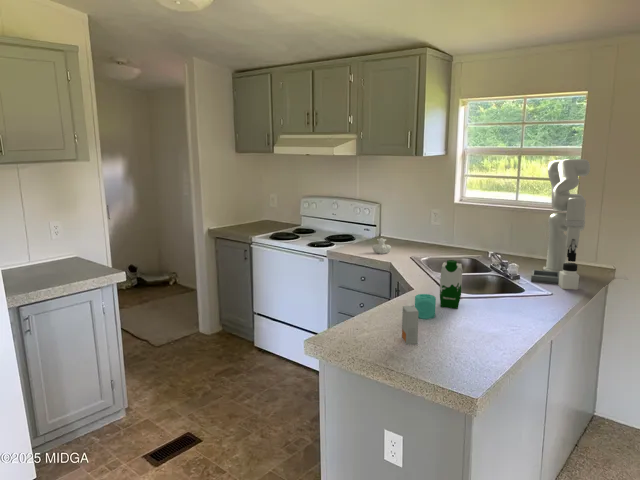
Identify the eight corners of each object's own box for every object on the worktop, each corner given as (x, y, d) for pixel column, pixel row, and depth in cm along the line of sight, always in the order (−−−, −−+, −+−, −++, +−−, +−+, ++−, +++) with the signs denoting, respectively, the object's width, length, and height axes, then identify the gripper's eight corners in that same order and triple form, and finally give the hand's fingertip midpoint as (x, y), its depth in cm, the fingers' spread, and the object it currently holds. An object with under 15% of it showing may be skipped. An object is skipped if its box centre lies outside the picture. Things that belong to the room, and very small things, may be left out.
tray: (531, 275, 256) (532, 269, 255) (559, 277, 250) (559, 272, 250) (531, 281, 244) (531, 275, 243) (559, 284, 239) (560, 278, 238)
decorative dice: (434, 313, 198) (435, 294, 196) (435, 319, 190) (435, 300, 189) (414, 311, 199) (415, 293, 198) (414, 318, 192) (414, 299, 190)
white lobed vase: (371, 256, 310) (371, 244, 301) (372, 247, 315) (372, 235, 306) (390, 257, 308) (390, 245, 299) (391, 248, 313) (391, 236, 304)
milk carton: (438, 307, 204) (440, 261, 200) (440, 301, 213) (442, 257, 209) (459, 310, 201) (462, 263, 198) (461, 303, 210) (463, 258, 206)
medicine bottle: (578, 290, 229) (581, 265, 227) (562, 289, 230) (564, 264, 228) (573, 285, 236) (576, 261, 234) (558, 285, 237) (560, 261, 235)
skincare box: (401, 337, 172) (402, 305, 170) (413, 337, 172) (414, 305, 170) (405, 344, 166) (406, 311, 164) (417, 344, 167) (419, 311, 164)
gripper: (564, 221, 236) (561, 255, 239) (566, 225, 221) (562, 262, 224) (582, 222, 233) (578, 256, 236) (584, 226, 218) (581, 263, 221)
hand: (571, 259), depth 230 cm, fingers open, 9 cm apart
